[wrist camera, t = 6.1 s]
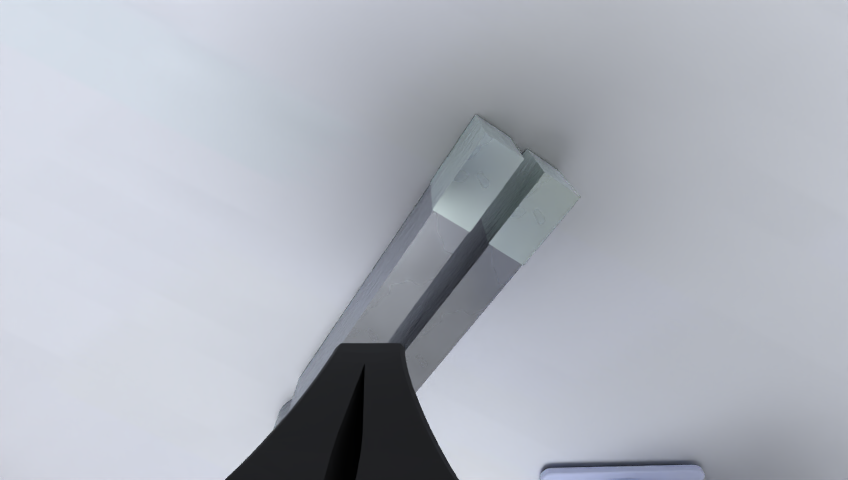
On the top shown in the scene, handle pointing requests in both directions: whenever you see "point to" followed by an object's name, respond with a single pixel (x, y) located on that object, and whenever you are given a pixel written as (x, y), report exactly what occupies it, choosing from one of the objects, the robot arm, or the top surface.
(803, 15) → the top surface
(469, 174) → the tongs moving leg
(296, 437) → the robot arm
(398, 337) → the bar
